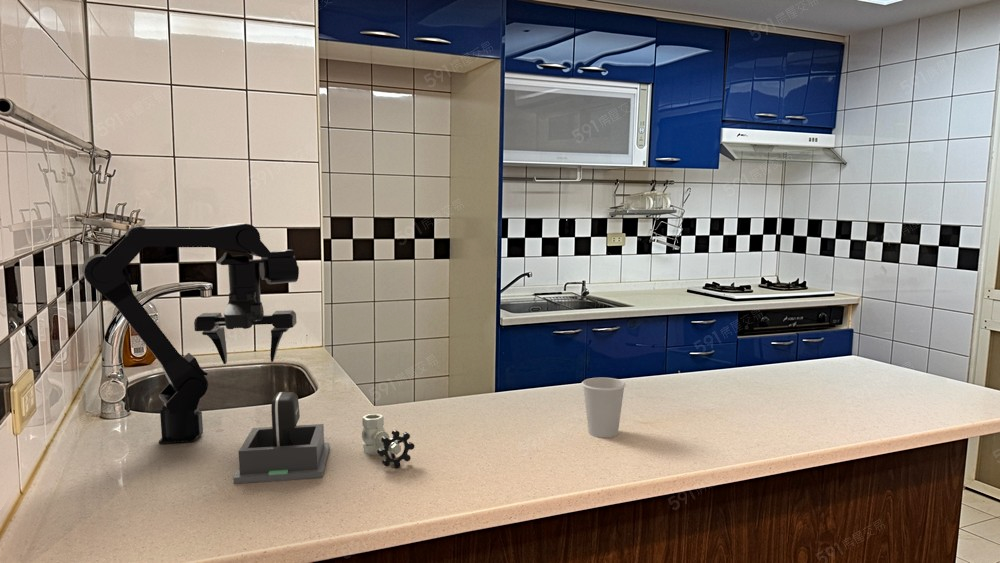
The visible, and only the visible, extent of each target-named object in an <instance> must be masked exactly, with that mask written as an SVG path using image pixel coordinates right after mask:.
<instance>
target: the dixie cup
mask: <svg viewBox="0 0 1000 563" xmlns="http://www.w3.org/2000/svg"><path fill="white" fill-rule="evenodd" d="M581 386H582V388H583V390H582V391H583V397H584V404H585V414H586V420H587V428H588V429H587V430H588V434H589V435H590V436H592V437H595V438H601V439H610V438H613V437H614V438H615V437H616V436H618V434H619V428H620V423H621V422H620V421H621V413H622V407H623V398H624V393H625V392H624V390H625V387H626V386H627V385H626V383H625V382H624V381H623V380H621V379H619V378H614V377H600V376H599V377H592V378H586V379H584V380H583V381H581Z"/></svg>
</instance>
